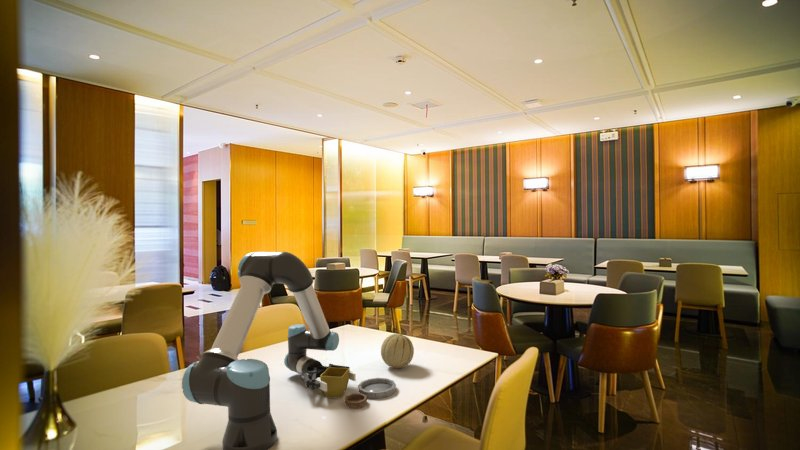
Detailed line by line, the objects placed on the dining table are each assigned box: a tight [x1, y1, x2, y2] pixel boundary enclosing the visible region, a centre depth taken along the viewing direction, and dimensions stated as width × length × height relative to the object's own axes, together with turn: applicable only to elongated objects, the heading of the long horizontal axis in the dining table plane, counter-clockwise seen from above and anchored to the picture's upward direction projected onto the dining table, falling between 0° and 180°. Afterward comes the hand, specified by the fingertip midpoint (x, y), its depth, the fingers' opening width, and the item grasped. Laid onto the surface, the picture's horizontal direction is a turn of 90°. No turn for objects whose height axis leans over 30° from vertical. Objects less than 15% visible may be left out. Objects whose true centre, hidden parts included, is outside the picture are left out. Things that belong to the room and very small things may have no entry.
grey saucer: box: [357, 377, 397, 399], centre depth 152 cm, size 14×14×2 cm
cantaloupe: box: [380, 331, 415, 369], centre depth 176 cm, size 15×15×15 cm
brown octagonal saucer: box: [344, 392, 368, 410], centre depth 141 cm, size 8×8×2 cm
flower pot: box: [319, 367, 351, 399], centre depth 148 cm, size 9×9×9 cm
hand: (341, 382), depth 145 cm, fingers open, 12 cm apart
